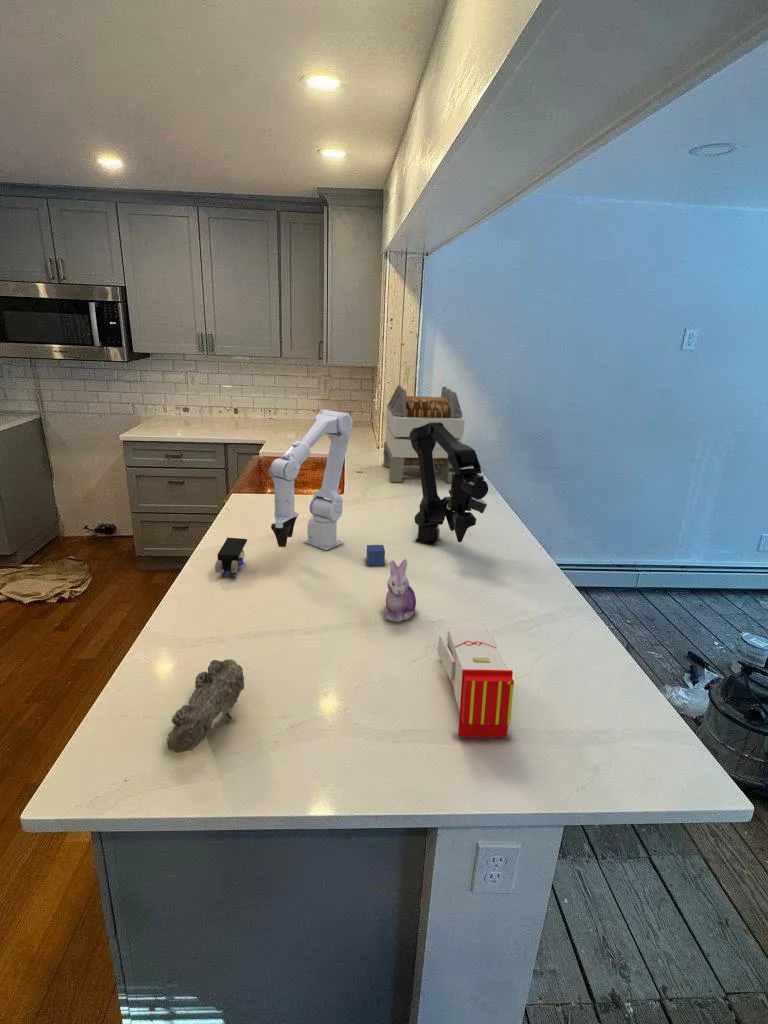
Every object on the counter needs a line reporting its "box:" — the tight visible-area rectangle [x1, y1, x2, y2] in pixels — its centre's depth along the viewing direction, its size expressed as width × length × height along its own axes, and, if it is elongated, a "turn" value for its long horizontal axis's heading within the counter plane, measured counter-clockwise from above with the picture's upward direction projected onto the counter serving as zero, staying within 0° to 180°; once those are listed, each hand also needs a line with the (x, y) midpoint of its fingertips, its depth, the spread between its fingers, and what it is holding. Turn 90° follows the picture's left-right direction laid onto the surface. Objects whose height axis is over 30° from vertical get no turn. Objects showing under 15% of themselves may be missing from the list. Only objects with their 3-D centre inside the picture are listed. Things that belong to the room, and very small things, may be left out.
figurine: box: [384, 558, 417, 623], centre depth 145 cm, size 9×10×15 cm
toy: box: [437, 628, 515, 738], centre depth 117 cm, size 12×13×30 cm
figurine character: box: [214, 537, 248, 578], centre depth 166 cm, size 7×8×15 cm
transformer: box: [383, 384, 465, 484], centre depth 268 cm, size 34×33×41 cm
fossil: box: [166, 658, 245, 754], centre depth 106 cm, size 22×10×15 cm
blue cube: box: [365, 544, 386, 567], centre depth 176 cm, size 5×5×5 cm
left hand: (285, 541), depth 171 cm, fingers open, 7 cm apart
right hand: (455, 536), depth 178 cm, fingers open, 9 cm apart
